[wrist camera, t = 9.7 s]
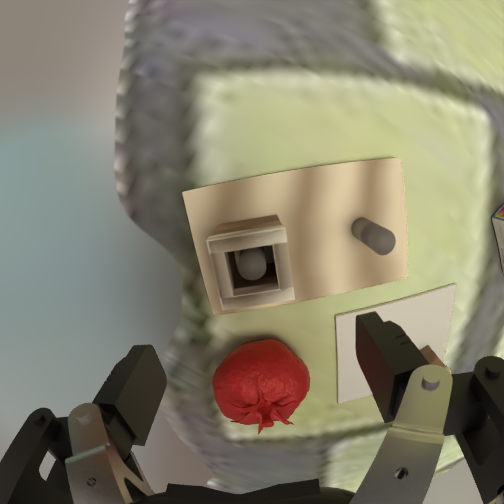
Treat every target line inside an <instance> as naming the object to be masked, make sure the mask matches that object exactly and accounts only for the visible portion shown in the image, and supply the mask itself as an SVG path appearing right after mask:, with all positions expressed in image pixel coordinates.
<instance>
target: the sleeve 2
mask: <svg viewBox="0 0 504 504" xmlns="http://www.w3.org/2000/svg"><path fill="white" fill-rule="evenodd" d="M420 352H421V353H422V354H423V356H424V357H425V358H426V360H427V361H428V362H429V364H430V365H439V366H442V367H444V368H445V369H447V370H448V371H449V372H450V373H451V370H450V369H449V368H448V367H447V365H446V366H445V365H444V363H443V362H442V361H441V360H440V359H439V357H438V356H437V355H436V354H435V352H434V351H433V350H432V349H431V348H430V346H429V345H427V346H425V347H424V348H422V349H421V350H420Z"/></svg>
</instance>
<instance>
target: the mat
mask: <svg viewBox="0 0 504 504" xmlns="http://www.w3.org/2000/svg"><path fill="white" fill-rule="evenodd" d="M455 292H456V283H452V284H449V285H446V286H443V287H440V288H436V289H433V290H430V291H426V292H423V293H420V294H416V295H413V296H409V297H405V298H402V299H398V300H394V301H391V302H387V303H383V304H379V305H375V306H371V307H367V308H363V309H358V310H354V311H350V312H345V313H341V314H336V315H335V322H336V342H337V381H338V404H339V403H343V402H347V401H351V400H355V399H359V398H362V397H366V396H370V395H373V394H372V392H371V390H370V388H369V385H368V383H367V381H366V379H365V376H364V374H363V372H362V370H361V368H360V366H359V363H358V361H357V357H356V350H355V319H356V316H357V315H360V314H364V313H369V312H373V311H376V312H377V313H378V315H379V316H380V317H381V319H382V320H383V321H384V322H385V321H389V320H390V321H392V322H394V323H396V324H398V325H400V326H401V327H402V329H403V330H404V331H405V333H406V335H408V336H409V338H410V339H411V341H412V342H413V343H414V344H415V345H416V347H417V348H418V349H419V350H421V349H422V348H424V347H425V346H427V345H429V346H430V348H431V349H432V350H433V351H434V352H435V354H436V355H437V356H438V357H439V359H440V360H441V361H442V362H443V358H444V354H445V349H446V345H447V340H448V335H449V330H450V325H451V319H452V313H453V307H454V300H455Z"/></svg>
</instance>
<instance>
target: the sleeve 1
mask: <svg viewBox="0 0 504 504" xmlns="http://www.w3.org/2000/svg"><path fill="white" fill-rule="evenodd" d="M206 242H207V246H208V251H209V255H210V260H211V264H212V269H213V273H214V277H215V281H216V286H217V290H218V294H219V298H220V302H221V306H222V310H229V309H236V308H243V307H250V306H257V305H263V304H270V303H276V302H282V301H289V300H295V295H294V287H293V279H292V272H291V264H290V257H289V250H288V243H287V236H286V229H285V226H284V224H281V222H280V220H279V218H278V216H277V214H276V215H270V216H263V217H257V218H251V219H246V220H240V221H234V222H228V223H223V224H219V225H218V227H217V228H216V230H215V231H214V233H213V235H212V236H209V237H208V239H207V240H206ZM267 245H272V248H273V254H274V260H275V262H273V263H266V271H265V273H264V275H263V276H262V277H261V278H259V279H257V280H247V279H245V278H243V277H242V276H241V275H240V273H239V271H238V268H237V264H236V259H235V254H234V251H236V250H242V249H248V248H254V247H260V246H267Z"/></svg>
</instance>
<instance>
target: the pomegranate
mask: <svg viewBox="0 0 504 504" xmlns="http://www.w3.org/2000/svg"><path fill="white" fill-rule="evenodd" d="M212 384H213V391H214V396H215V400H216V402H217V404H218V406H219V407H220V410H221V411H222V413H223V414H224V416H226V417H227V418H230V419H232V420H235V421H231V422H236V423H240V424H244V425H251V424H259V430H258V434H259V433H260V431H261V430H262V429H263V427H272V426H273V425H274V422H273V421H281V422H283V423H284V424H287V425H288V424H293V423H292V422H289V421H287V420H286V419H288V418H289V417H290V415H292V413H293V412H294V410H295V409H296V408H297V407H298V406H299V404H300V403H301V401H302V400H303V399H304V398H305V396H306V394H307V392H308V391H309V387H310V377H309V371H308V369H307V366H306V365H305V364H304V362H303V361H302V360H301V359H300V358H299V357H298V356H296V355H295V354H294V353H292V352H291V351H290V350H289V348H288V347H287V346H286V345H285V344H284V343H282V342H279V341H278V340H275V339H266V340H262V341H257V342H250V343H246V344H243V345H241V346H240V347H238V348H237V349H236V350H234V351H233V352H231V353H230V354H229V355H228V356H227V357H226V358H225V359H224V360H223V362H222V363H221V364H220V366H219V367H218V368H217V370H216V371H215V374H214V376H213V382H212ZM293 425H294V424H293Z"/></svg>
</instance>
